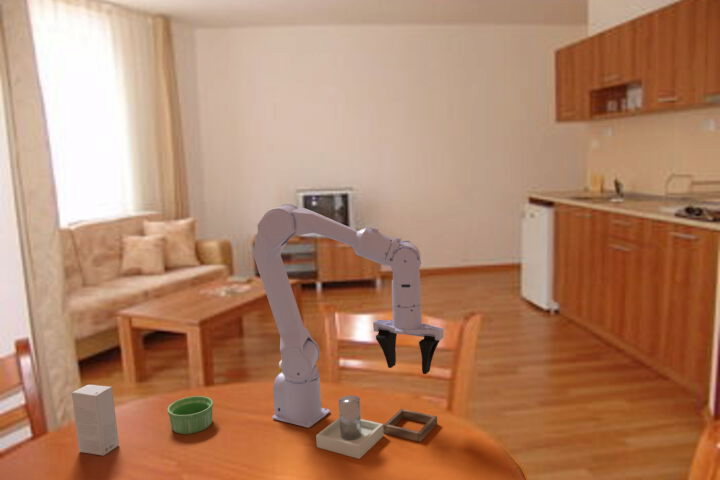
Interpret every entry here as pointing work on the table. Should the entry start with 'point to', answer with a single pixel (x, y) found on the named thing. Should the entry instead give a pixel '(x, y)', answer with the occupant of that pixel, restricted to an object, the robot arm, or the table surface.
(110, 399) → the skincare box
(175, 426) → the ramekin
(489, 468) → the table surface
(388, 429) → the walnut collar
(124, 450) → the table surface
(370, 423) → the beige shallow square tray
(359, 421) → the dowel pin
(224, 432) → the table surface
